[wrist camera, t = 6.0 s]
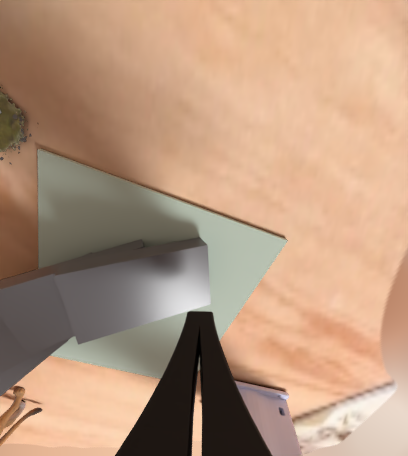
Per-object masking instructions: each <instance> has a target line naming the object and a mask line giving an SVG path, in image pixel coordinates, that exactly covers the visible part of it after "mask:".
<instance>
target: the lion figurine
mask: <svg viewBox="0 0 408 456" xmlns="http://www.w3.org/2000/svg"><path fill="white" fill-rule="evenodd" d="M24 393H25V390H24V389H23V388H16V389H15V390H14V392H13V394H15V396H16V397H15V400H14V402H13V404H12V405H11V407H10V408H9V409H8V410H7V411H6V412H5V413H4V414H3V415H2V416H0V435H1V433H2V431H3V429H4V428H6V427H8V426H10V425H11V424H12V423H13V422H14V421H15V420H16V418H17V417H18V416H19V415H20V414H21V412H22V411H23V410H24V408H25V405H26V404H25V403H24V402H23V401H21V399H22V397H23V395H24ZM41 411H42V409H41V408H35V409H33V410H31V411H29V412H28V413H27V414H26V415H24V416H23V417H22V418H21V419H20V420H19V421H18V422H17V423H16V424H15V425H13V426H12V428H11V429H10V430H9V431H8V432H7V433H6V434H5V435H4V436H3V437H2V438H1V439H0V446H1V445H2V444H3V443H4V442H5V440H6V439H7V438H8V437H9V436H10V435H11V434H12V433H13V431H14V430H15V429H16V428H17V427H18V426H19V425H20V424H21V423H22V422H23V421H24V420H25V419H26V418H28V417H29V416H31V415H34V414H37V413H39V412H41Z"/></svg>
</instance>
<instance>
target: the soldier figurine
mask: <svg viewBox="0 0 408 456" xmlns="http://www.w3.org/2000/svg"><path fill="white" fill-rule="evenodd" d="M0 88H1V87H0ZM2 89H3V88H2ZM6 97H7V95H4V94H3V93H2V92H0V152H2V151H3V152H6V151H7V150H6V149H8V147H9V146H11V147H12V145H11V144H13V145H14V143H15V144H16V145H18V144H19V143H20V142H19V140H20V141H21V142H26V138H27V136H26V137H24V136H23V134H25V133H24V132H23V131H24V130H23V129H22V128H21V124H22V125H23V126H24V124H23V123H24V116H22V114H21V110H20V108H18V109H17V108H16V107H15V104H14V103H13V104H10V102H8V99H9V97H8V98H6ZM10 100H12V99H11V98H10ZM24 112H26V111H24ZM27 122H28V121H27ZM22 130H23V131H22ZM27 130H28V129H27ZM21 133H22V134H21ZM29 136H31V134H30V135H29ZM20 138H22V139H20ZM19 145H20V144H19ZM14 146H15V145H14ZM12 148H13V150H14V151H15V150H16V149H14V148H16V146H15V147H12ZM9 149H10V148H9ZM18 149H19V150H20V146H18ZM19 153H20V152H19ZM5 155H6V154H5ZM3 159H4V158H3V157H1V158H0V160H3ZM10 164H11V163H10Z"/></svg>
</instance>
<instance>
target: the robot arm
mask: <svg viewBox="0 0 408 456" xmlns="http://www.w3.org/2000/svg"><path fill="white" fill-rule="evenodd" d="M199 357H200V377H201V397H202V456H302V452H301V449H300V446H299V442H298V439H297V435H296V432H295V429H294V425H293V422H292V419H291V415H290V412H289V409H288V405H287V402H286V400H287V399H288V398H289V395H288V393H287V392H283V391H279V390H274V389H270V388H265V387H261V386H257V385H252V384H248V383H243V382H239V381H234V378H233V376H232V373H231V371H230V368H229V366H228V363H227V361H226V358H225V355H224V352H223V350H222V347H221V344H220V341H219V337H218V334H217V330H216V326H215V322H214V316H213V313H212V312H210V311H189V312H187V316H186V320H185V323H184V327H183V330H182V332H181V335H180V338H179V340H178V343H177V345H176V348H175V350H174V352H173V355H172V357H171V359H170V361H169V363H168V365H167V368H166V370H165V372H164V374H163V376H162V378H161V380H160V382H159V384H158V385H157V387H156V389H155V391H154V393H153V395H152V396H151V398H150V400H149V402H148V403H147V405H146V407H145V409H144V410H143V412H142V414H141V415H140V417H139V419H138V420H137V422H136V424H135V425H134V427H133V429H132V430H131V432H130V433H129V435H128V436H127V438H126V439H125V441H124V443H123V444H122V446H121V447H120V449H119V450H118V452H117V454H116V455H115V456H192V434H193V414H194V403H195V393H196V384H197V374H198V365H199Z"/></svg>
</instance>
